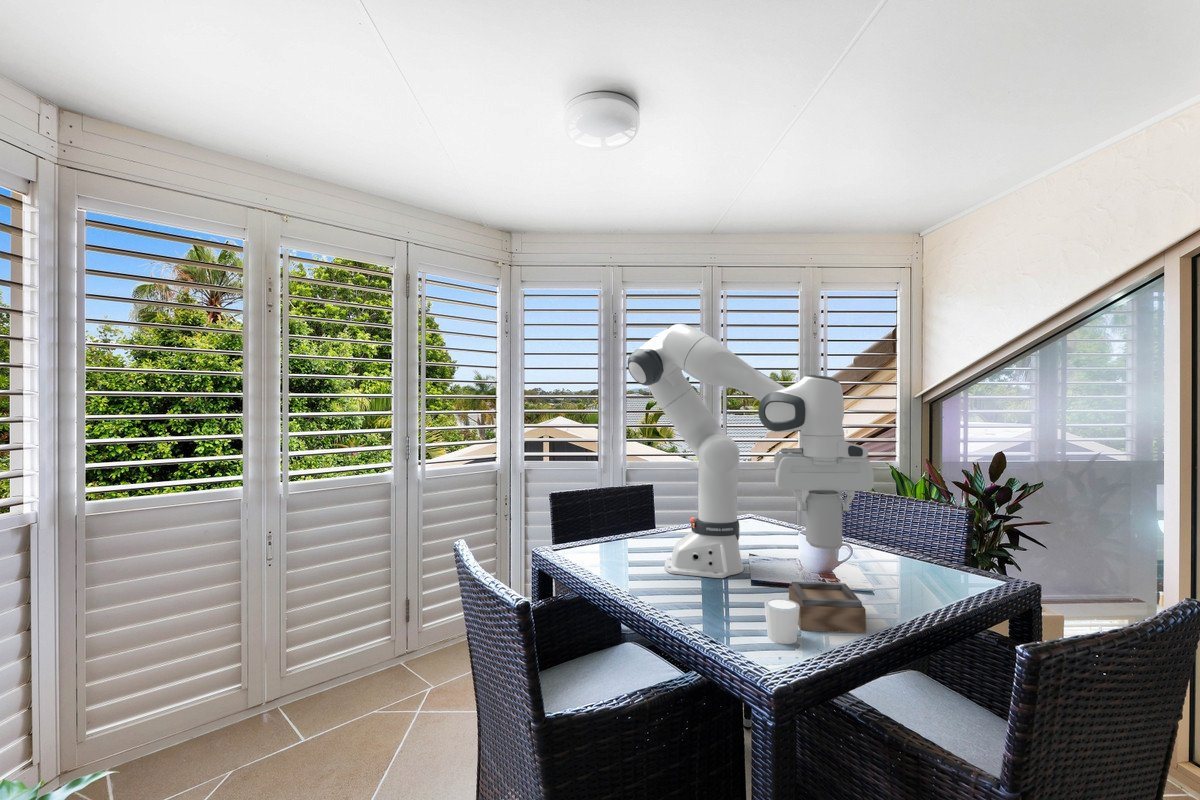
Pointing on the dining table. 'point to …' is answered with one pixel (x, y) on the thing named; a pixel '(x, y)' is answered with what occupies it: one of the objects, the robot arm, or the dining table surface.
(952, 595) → the dining table surface
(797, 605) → the white cylinder
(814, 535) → the can
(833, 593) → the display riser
